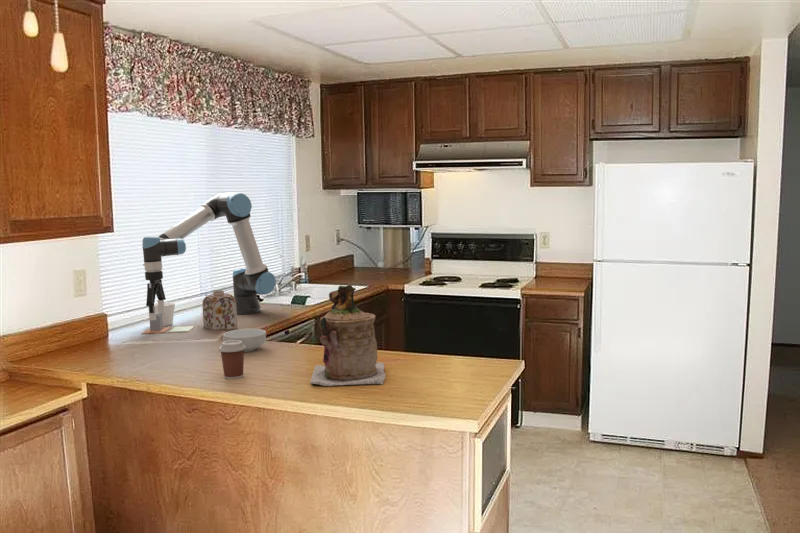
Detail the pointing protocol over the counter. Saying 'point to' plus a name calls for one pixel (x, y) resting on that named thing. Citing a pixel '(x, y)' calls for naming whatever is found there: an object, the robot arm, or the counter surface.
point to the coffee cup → (232, 358)
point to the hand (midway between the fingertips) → (157, 317)
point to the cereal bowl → (247, 337)
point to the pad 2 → (182, 329)
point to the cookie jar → (348, 344)
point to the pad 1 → (158, 331)
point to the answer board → (169, 330)
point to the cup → (167, 313)
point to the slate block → (157, 323)
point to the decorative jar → (220, 311)
